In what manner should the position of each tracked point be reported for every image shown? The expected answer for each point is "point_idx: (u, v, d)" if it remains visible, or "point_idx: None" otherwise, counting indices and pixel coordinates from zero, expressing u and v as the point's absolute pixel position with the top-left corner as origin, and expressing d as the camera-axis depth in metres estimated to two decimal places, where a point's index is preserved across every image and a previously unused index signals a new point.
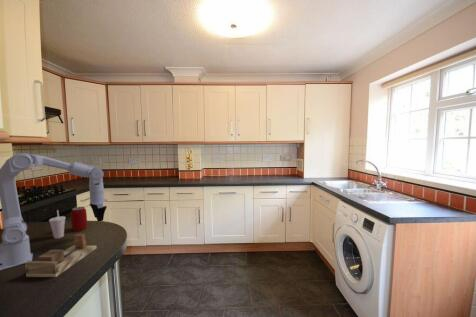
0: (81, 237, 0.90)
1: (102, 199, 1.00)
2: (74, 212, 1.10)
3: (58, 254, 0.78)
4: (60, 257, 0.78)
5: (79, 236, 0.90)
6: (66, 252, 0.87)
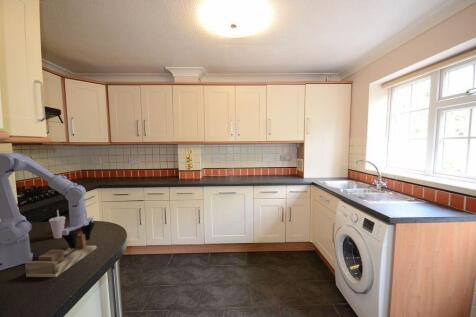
0: (81, 237, 0.90)
1: (78, 223, 0.88)
2: None
3: (58, 254, 0.78)
4: (60, 257, 0.78)
5: (79, 236, 0.90)
6: (66, 252, 0.87)
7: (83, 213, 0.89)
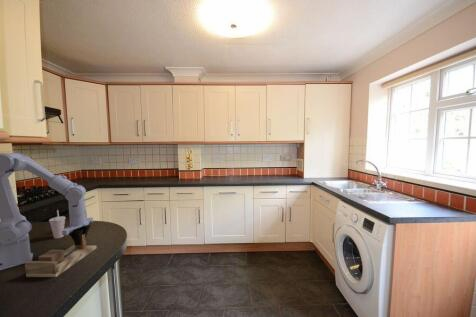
0: None
1: (78, 223, 0.88)
2: None
3: (58, 254, 0.78)
4: (60, 257, 0.78)
5: None
6: (66, 252, 0.87)
7: (83, 213, 0.89)
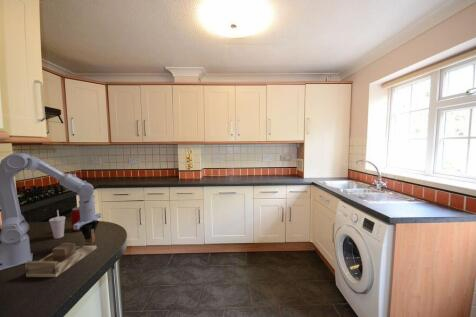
0: None
1: (88, 219, 0.93)
2: (74, 212, 1.10)
3: (70, 247, 0.83)
4: (72, 250, 0.84)
5: None
6: None
7: (92, 209, 0.95)
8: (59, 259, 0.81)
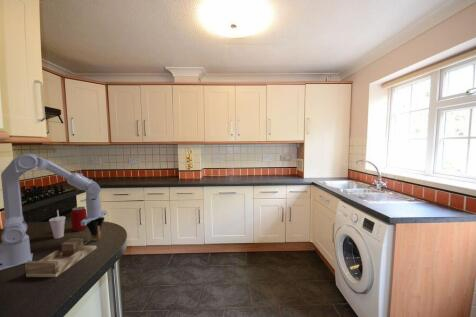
0: (97, 228, 0.99)
1: (94, 215, 0.97)
2: (74, 212, 1.10)
3: (78, 242, 0.87)
4: (80, 245, 0.88)
5: None
6: None
7: (98, 206, 0.99)
8: (68, 253, 0.85)
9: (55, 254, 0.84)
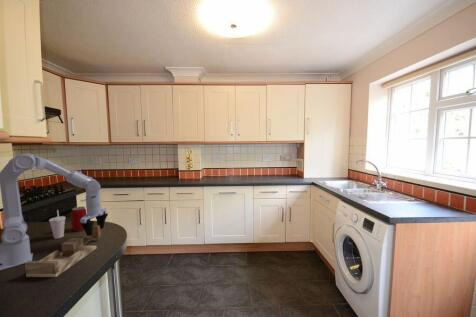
0: (97, 228, 0.99)
1: (94, 213, 0.97)
2: (74, 212, 1.10)
3: (78, 242, 0.87)
4: (80, 245, 0.88)
5: (95, 227, 0.99)
6: None
7: (98, 204, 0.99)
8: (68, 253, 0.85)
9: (55, 254, 0.84)
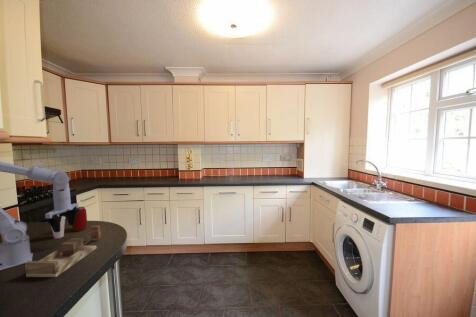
0: (97, 228, 0.99)
1: (62, 208, 0.90)
2: None
3: (78, 242, 0.87)
4: (80, 245, 0.88)
5: (95, 227, 0.99)
6: None
7: (67, 198, 0.91)
8: (68, 253, 0.85)
9: (55, 254, 0.84)
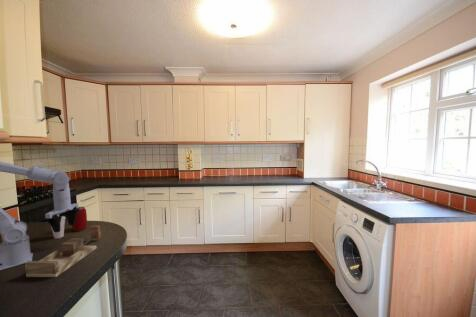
0: (97, 228, 0.99)
1: (62, 208, 0.90)
2: None
3: (78, 242, 0.87)
4: (80, 245, 0.88)
5: (95, 227, 0.99)
6: None
7: (67, 198, 0.91)
8: (68, 253, 0.85)
9: (55, 254, 0.84)
